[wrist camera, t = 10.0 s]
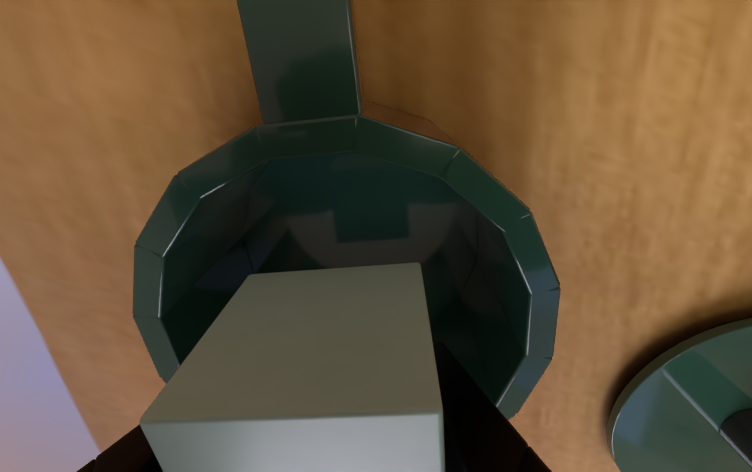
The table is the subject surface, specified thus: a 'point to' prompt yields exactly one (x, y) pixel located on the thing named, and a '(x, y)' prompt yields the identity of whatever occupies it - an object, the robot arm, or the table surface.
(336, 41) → the pot
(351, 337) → the block
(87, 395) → the table surface
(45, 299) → the table surface
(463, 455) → the robot arm
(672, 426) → the lid
